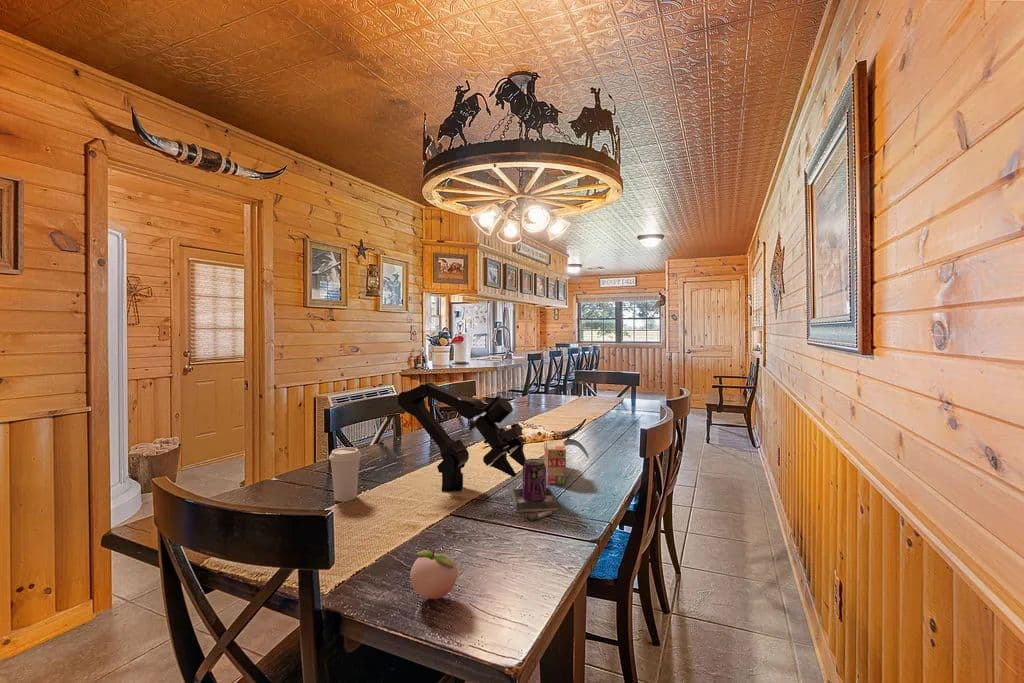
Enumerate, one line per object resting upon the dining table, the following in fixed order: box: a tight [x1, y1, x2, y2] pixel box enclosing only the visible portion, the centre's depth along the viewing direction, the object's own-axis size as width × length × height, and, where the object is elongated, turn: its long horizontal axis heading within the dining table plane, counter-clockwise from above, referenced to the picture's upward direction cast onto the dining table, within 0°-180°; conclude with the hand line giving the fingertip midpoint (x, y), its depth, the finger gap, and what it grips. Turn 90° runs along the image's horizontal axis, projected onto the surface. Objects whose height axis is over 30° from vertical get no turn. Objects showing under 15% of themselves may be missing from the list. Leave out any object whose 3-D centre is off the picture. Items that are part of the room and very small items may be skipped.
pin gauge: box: [526, 510, 553, 522], centre depth 133 cm, size 8×2×2 cm, turn 127°
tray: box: [511, 487, 559, 513], centre depth 144 cm, size 12×12×2 cm
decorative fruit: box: [409, 549, 458, 600], centre depth 93 cm, size 9×8×10 cm
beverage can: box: [522, 458, 547, 502], centre depth 145 cm, size 7×7×12 cm
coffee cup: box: [328, 446, 362, 503], centre depth 148 cm, size 10×10×15 cm
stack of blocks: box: [543, 440, 567, 485], centre depth 172 cm, size 21×6×12 cm, turn 179°
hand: (521, 471), depth 145 cm, fingers open, 9 cm apart
